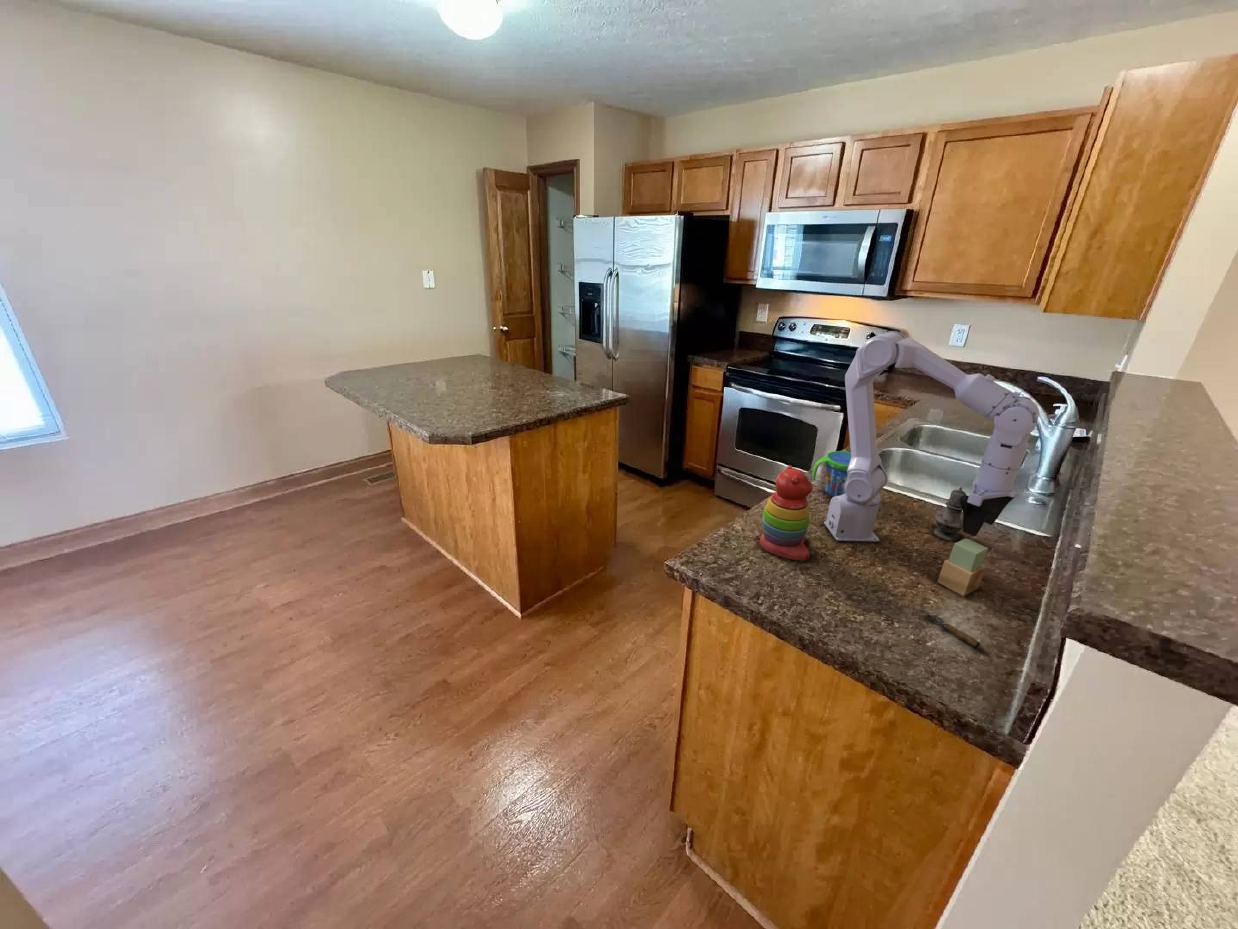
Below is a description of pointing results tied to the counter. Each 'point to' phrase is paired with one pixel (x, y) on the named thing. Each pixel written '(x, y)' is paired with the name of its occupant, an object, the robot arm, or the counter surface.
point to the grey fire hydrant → (950, 518)
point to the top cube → (968, 554)
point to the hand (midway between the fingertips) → (977, 528)
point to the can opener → (955, 631)
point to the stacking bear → (787, 516)
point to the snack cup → (835, 471)
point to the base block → (960, 578)
